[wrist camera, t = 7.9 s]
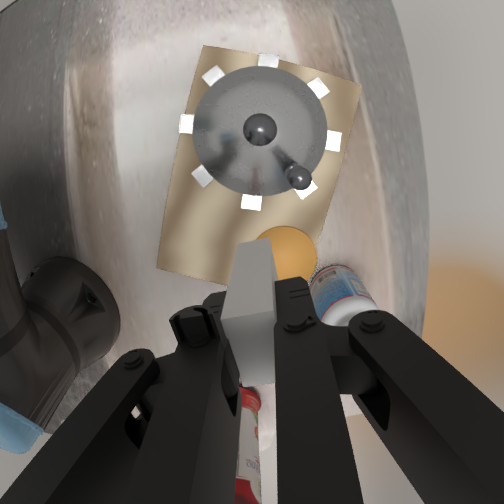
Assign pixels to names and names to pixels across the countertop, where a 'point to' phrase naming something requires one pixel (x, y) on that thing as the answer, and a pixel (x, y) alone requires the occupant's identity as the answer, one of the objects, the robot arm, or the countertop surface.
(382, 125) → the countertop surface
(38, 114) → the countertop surface
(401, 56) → the countertop surface
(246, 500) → the liquor
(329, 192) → the board
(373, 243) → the countertop surface
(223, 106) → the sprocket disc
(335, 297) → the pill bottle
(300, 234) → the seat pad
